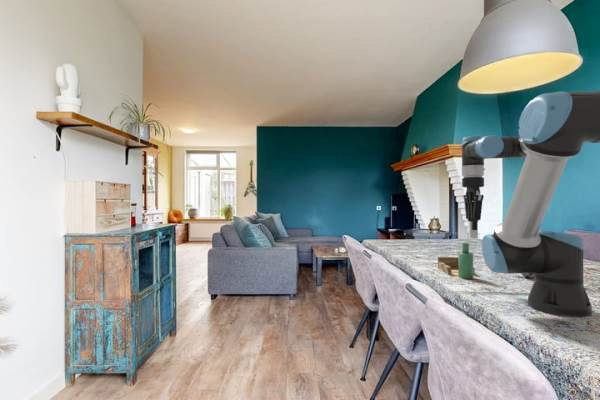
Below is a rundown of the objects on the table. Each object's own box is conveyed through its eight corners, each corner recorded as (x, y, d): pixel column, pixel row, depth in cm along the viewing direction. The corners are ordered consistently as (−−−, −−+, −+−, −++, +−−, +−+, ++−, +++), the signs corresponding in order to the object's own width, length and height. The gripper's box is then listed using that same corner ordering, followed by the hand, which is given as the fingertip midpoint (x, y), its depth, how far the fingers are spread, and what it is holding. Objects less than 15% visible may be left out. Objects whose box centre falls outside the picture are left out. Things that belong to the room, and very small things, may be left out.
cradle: (482, 281, 133) (482, 266, 133) (453, 281, 134) (453, 266, 134) (461, 270, 155) (461, 257, 155) (437, 270, 156) (436, 256, 156)
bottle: (475, 279, 133) (475, 242, 133) (461, 279, 133) (461, 242, 133) (470, 276, 138) (469, 240, 138) (456, 275, 138) (456, 240, 138)
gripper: (491, 175, 121) (491, 240, 121) (476, 177, 134) (476, 236, 134) (469, 176, 122) (469, 240, 122) (456, 178, 135) (456, 236, 135)
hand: (473, 238), depth 128 cm, fingers closed
